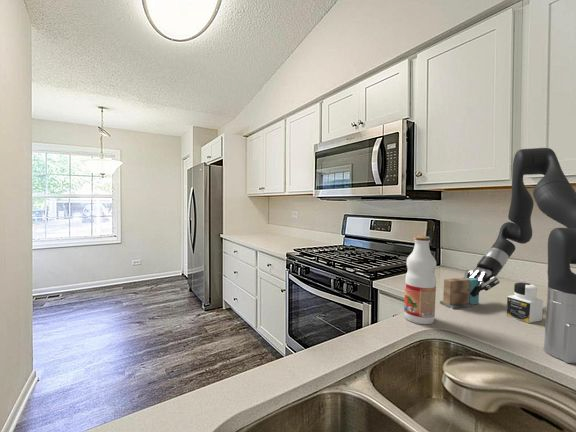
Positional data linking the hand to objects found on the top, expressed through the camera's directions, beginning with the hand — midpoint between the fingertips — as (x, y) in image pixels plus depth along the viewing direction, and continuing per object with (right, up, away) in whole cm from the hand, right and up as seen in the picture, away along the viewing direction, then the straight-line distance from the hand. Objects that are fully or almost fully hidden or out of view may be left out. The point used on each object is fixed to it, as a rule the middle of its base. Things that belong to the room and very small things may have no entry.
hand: (468, 293), depth 113 cm
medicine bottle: (+11, -5, -13) cm, 18 cm away
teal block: (+1, -4, +1) cm, 4 cm away
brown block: (-6, -4, -1) cm, 7 cm away
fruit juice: (-27, -4, -16) cm, 31 cm away
